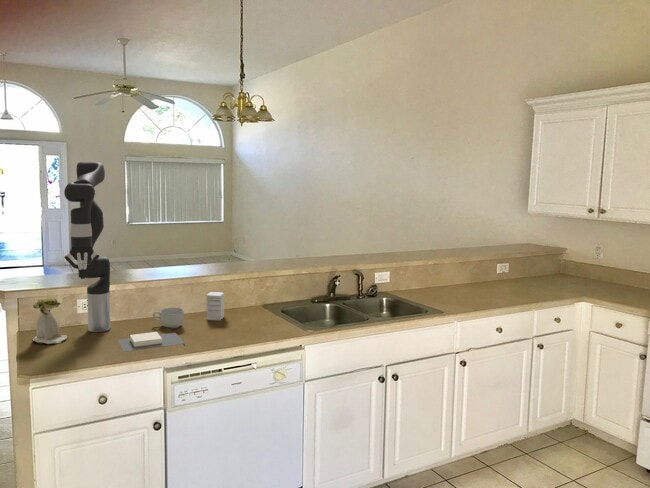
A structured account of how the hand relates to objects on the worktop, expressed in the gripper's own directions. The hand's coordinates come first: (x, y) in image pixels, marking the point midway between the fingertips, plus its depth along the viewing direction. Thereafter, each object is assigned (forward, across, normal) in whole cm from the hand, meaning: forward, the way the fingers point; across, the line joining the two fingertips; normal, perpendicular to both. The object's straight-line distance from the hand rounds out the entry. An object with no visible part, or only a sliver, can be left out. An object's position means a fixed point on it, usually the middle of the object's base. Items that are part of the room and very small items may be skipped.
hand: (82, 278), depth 202 cm
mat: (+29, -25, +4) cm, 38 cm away
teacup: (+29, -37, -17) cm, 50 cm away
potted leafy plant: (+29, +12, -17) cm, 36 cm away
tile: (+27, -18, +4) cm, 32 cm away
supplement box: (+29, -61, -22) cm, 71 cm away
